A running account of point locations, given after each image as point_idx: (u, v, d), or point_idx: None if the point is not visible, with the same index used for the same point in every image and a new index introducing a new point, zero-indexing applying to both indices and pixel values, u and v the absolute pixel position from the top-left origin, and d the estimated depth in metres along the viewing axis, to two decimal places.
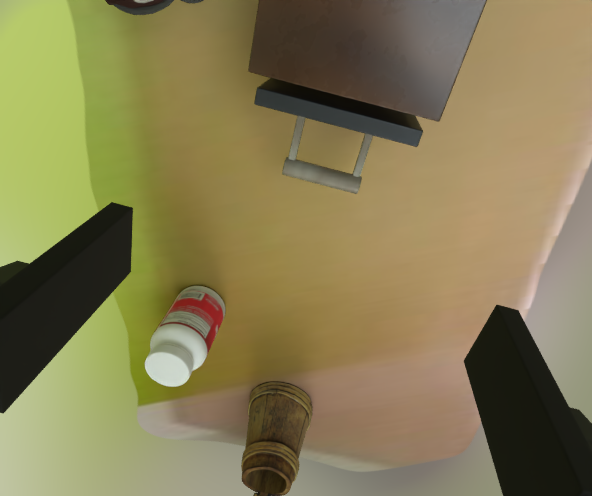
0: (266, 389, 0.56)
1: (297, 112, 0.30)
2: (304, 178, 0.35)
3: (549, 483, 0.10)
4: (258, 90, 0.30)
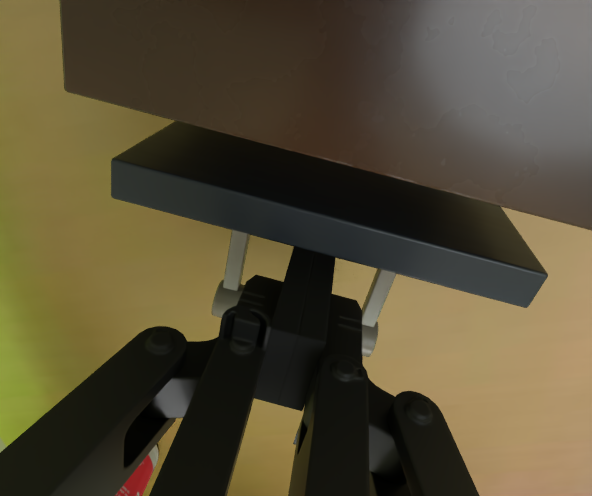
0: None
1: (220, 220, 0.12)
2: None
3: None
4: (115, 166, 0.11)
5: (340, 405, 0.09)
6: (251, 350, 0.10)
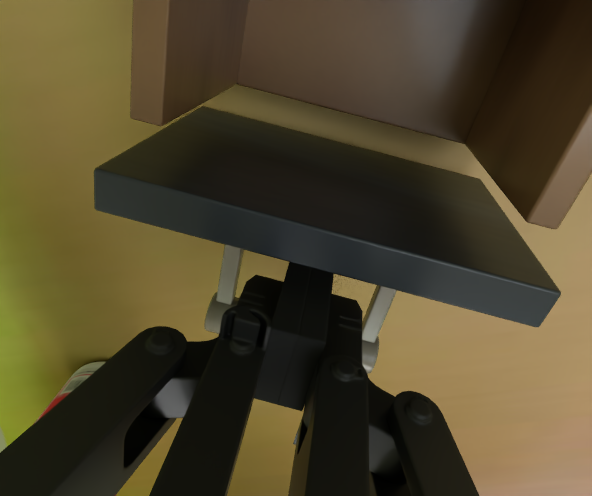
0: None
1: (210, 234, 0.11)
2: None
3: None
4: (98, 176, 0.11)
5: (340, 405, 0.09)
6: (251, 350, 0.10)
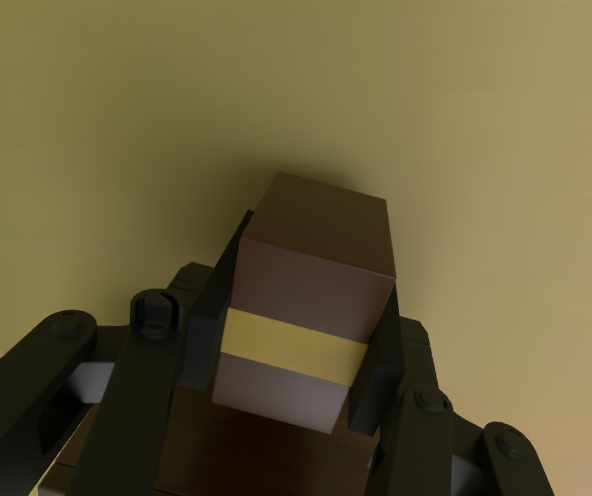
0: None
1: None
2: None
3: (366, 367, 0.12)
4: None
5: (423, 434, 0.09)
6: (166, 333, 0.10)
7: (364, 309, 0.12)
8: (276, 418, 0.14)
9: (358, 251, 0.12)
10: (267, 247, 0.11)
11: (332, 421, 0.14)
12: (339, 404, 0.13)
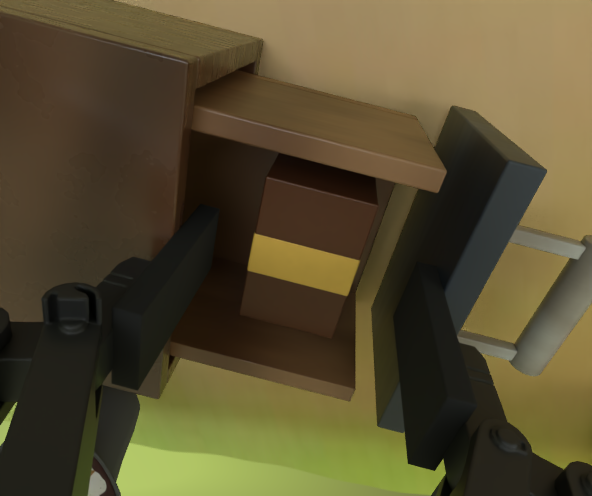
0: None
1: None
2: (559, 345, 0.18)
3: (430, 399, 0.11)
4: (382, 426, 0.18)
5: (497, 473, 0.09)
6: (85, 327, 0.10)
7: (356, 231, 0.16)
8: (289, 326, 0.18)
9: (351, 189, 0.16)
10: (284, 184, 0.15)
11: (332, 326, 0.18)
12: (338, 311, 0.18)
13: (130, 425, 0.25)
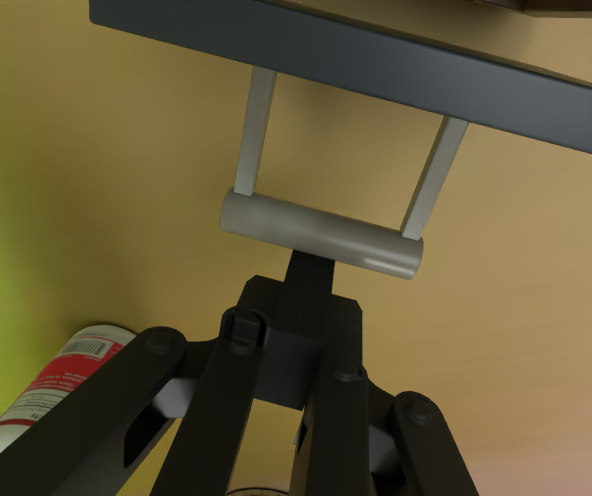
0: None
1: (235, 49, 0.09)
2: (276, 242, 0.14)
3: None
4: None
5: (340, 405, 0.09)
6: (251, 350, 0.10)
7: None
8: None
9: None
10: None
11: None
12: None
13: None
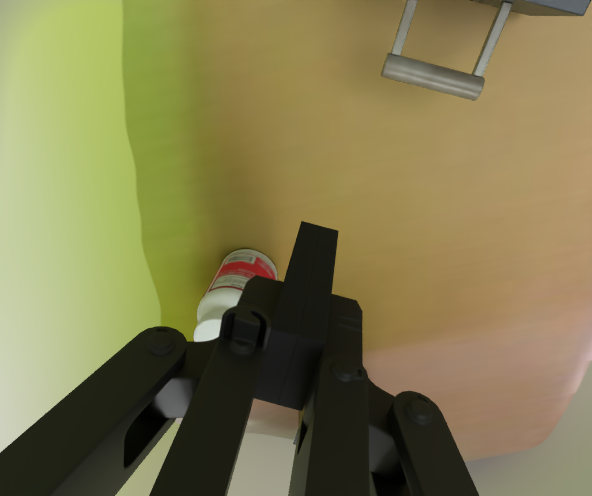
0: None
1: None
2: (411, 79, 0.28)
3: None
4: None
5: (340, 405, 0.09)
6: (251, 350, 0.10)
7: None
8: None
9: None
10: None
11: None
12: None
13: None
